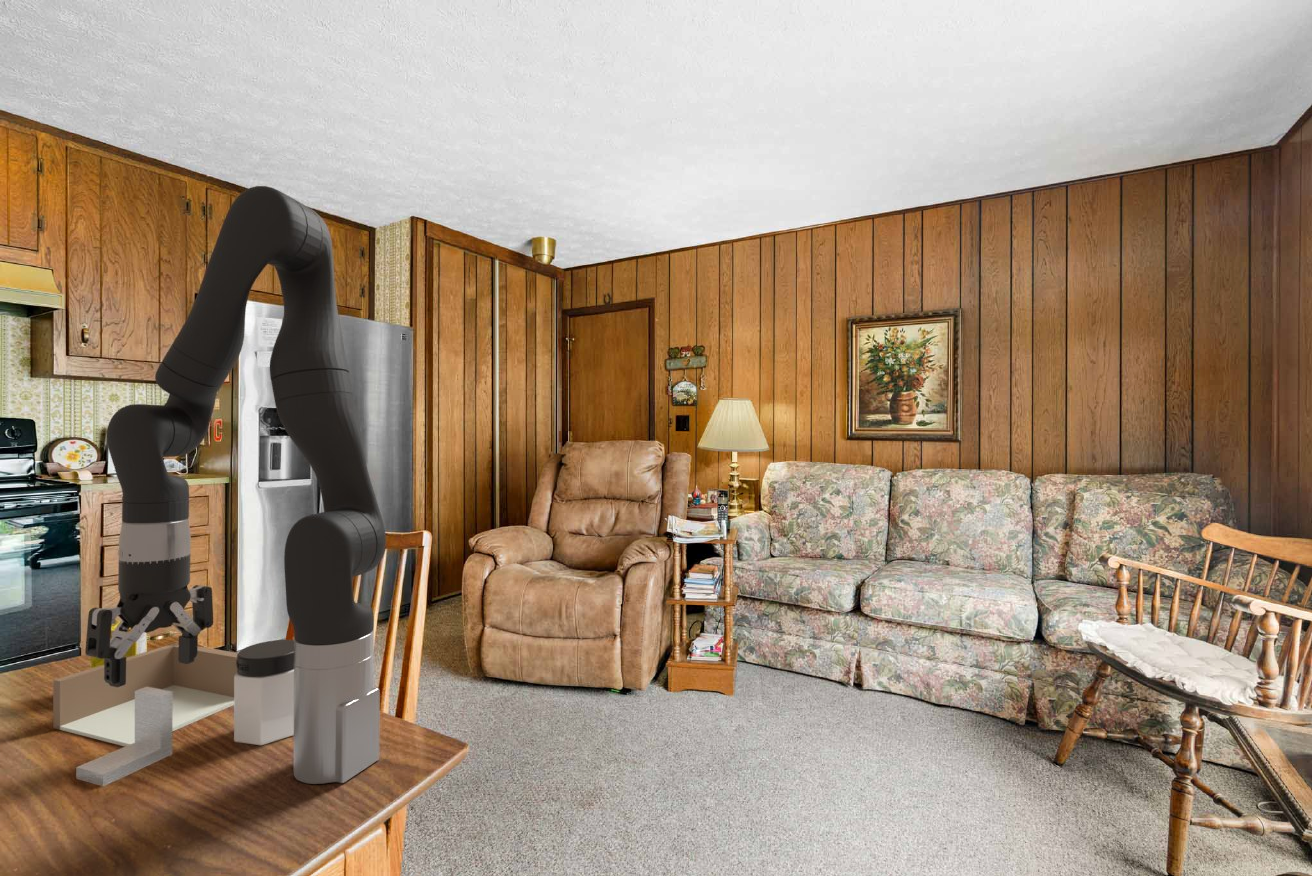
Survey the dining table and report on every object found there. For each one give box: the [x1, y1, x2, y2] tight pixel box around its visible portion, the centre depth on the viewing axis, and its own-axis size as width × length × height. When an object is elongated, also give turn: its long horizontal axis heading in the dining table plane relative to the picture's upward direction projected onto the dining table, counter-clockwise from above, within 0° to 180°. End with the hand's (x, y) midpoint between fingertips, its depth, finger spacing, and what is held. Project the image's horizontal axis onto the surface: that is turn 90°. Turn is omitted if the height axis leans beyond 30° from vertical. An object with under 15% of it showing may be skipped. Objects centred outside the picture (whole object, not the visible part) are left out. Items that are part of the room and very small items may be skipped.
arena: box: [52, 642, 239, 747], centre depth 95 cm, size 17×17×7 cm
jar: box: [233, 639, 294, 746], centre depth 90 cm, size 9×8×12 cm
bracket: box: [75, 687, 173, 787], centre depth 80 cm, size 8×5×8 cm, turn 161°
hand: (153, 673), depth 84 cm, fingers open, 8 cm apart
